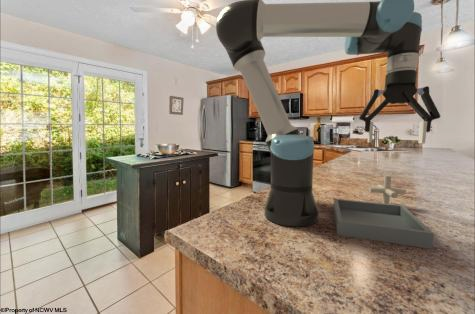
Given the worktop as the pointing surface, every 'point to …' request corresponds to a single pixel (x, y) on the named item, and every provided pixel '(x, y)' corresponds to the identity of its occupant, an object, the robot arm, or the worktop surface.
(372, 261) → the worktop surface
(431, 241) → the tray
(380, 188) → the pipe connector
